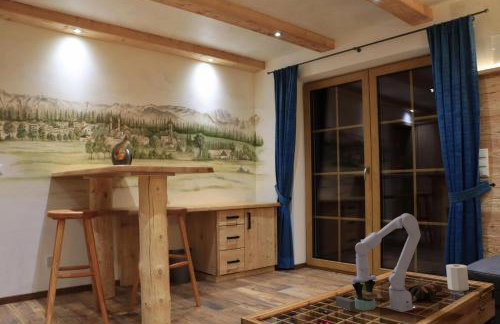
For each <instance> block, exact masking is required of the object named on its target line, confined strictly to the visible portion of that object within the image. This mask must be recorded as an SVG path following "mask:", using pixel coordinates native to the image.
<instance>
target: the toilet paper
mask: <svg viewBox="0 0 500 324" xmlns="http://www.w3.org/2000/svg"><path fill="white" fill-rule="evenodd" d="M445 270H446V281H447V289H448V290H450V291H451V290H452V291H457V292H463V291H469V289H470V288H469V287H470V286H469V277H468V275H469V274H468V266H467V265H465V264H458V263H456V264H455V263H453V264H451V263H450V264H445Z"/></svg>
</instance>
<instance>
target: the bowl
mask: <svg viewBox="0 0 500 324" xmlns="http://www.w3.org/2000/svg"><path fill="white" fill-rule="evenodd" d="M354 301H355V307H356V308H357V310H359V311H372V310H375V309H376V298H373V299H366V298H362V299H359V298H358V297H357V296H356V297H354ZM356 308H355V309H356Z"/></svg>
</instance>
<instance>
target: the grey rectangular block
mask: <svg viewBox="0 0 500 324" xmlns="http://www.w3.org/2000/svg"><path fill="white" fill-rule="evenodd" d="M336 305H337V306H339V307H342V308H345V309H347V310H349V311H352V312H355V311H356V308H355V299H351V298H347V297H343V296H337V297H335V306H336ZM349 311H348V312H349Z"/></svg>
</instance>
